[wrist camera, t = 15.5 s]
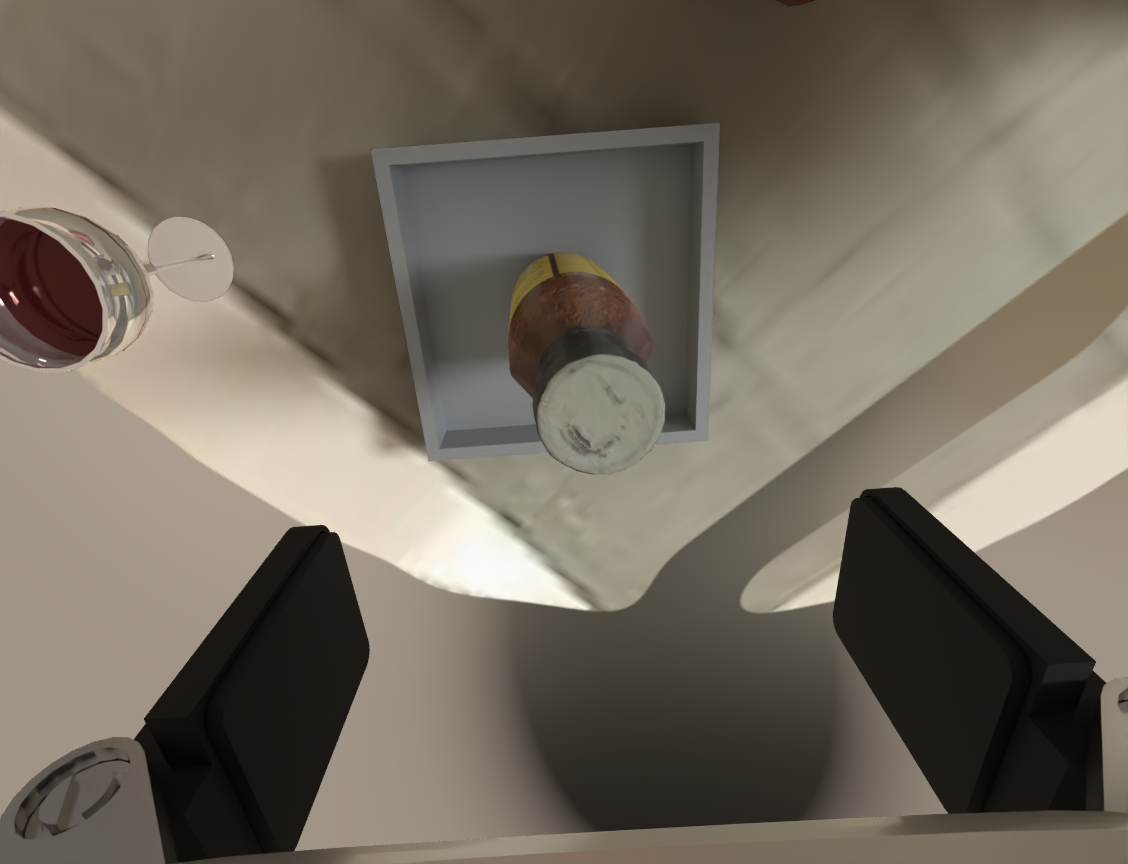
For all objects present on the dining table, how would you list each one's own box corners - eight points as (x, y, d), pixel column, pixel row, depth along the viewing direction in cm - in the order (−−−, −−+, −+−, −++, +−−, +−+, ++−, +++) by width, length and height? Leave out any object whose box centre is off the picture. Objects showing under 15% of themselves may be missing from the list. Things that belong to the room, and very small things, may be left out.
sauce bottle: (526, 358, 37) (506, 531, 18) (501, 261, 34) (450, 350, 16) (625, 336, 36) (705, 491, 18) (607, 236, 34) (678, 298, 15)
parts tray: (702, 128, 32) (720, 122, 29) (694, 419, 39) (707, 440, 36) (388, 152, 32) (370, 149, 29) (438, 438, 39) (428, 461, 36)
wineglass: (252, 323, 36) (121, 385, 25) (139, 306, 35) (-45, 362, 24) (245, 211, 33) (96, 224, 22) (124, 190, 33) (-92, 193, 22)
